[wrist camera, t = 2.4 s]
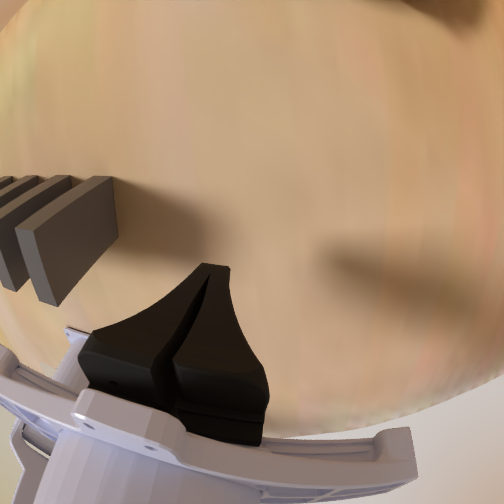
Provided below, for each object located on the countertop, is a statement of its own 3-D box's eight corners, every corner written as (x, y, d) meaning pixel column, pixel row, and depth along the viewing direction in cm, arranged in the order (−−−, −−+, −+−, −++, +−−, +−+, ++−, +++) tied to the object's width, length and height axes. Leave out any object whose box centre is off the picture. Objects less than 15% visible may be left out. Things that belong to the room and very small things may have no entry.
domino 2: (78, 231, 21) (16, 292, 13) (64, 229, 21) (3, 286, 13) (70, 175, 18) (-8, 224, 11) (55, 175, 18) (-20, 222, 11)
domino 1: (46, 226, 21) (-13, 280, 14) (35, 225, 21) (-23, 275, 14) (37, 175, 18) (-34, 219, 11) (26, 175, 18) (-43, 218, 11)
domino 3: (118, 237, 21) (57, 307, 13) (101, 234, 21) (39, 300, 13) (112, 176, 18) (33, 231, 11) (93, 175, 18) (14, 227, 11)
